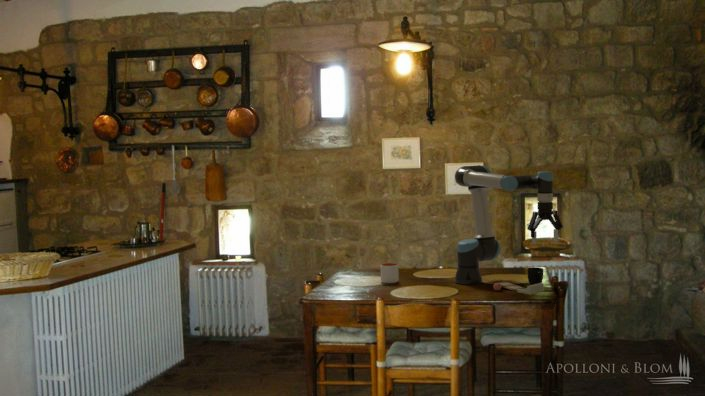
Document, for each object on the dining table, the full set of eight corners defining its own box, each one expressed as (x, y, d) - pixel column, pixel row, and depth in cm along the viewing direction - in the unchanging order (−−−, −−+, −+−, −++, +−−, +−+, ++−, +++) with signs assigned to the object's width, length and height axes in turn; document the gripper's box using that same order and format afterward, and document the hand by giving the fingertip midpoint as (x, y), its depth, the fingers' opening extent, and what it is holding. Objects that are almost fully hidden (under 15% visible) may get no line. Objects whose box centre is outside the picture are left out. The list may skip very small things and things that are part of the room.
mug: (532, 289, 350) (531, 271, 350) (525, 285, 362) (525, 267, 362) (547, 289, 351) (547, 270, 350) (540, 284, 363) (540, 267, 362)
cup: (385, 284, 375) (384, 266, 374) (377, 281, 384) (377, 264, 384) (401, 282, 379) (401, 265, 378) (393, 279, 388) (393, 262, 387)
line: (519, 291, 346) (519, 290, 346) (527, 289, 350) (527, 288, 350) (520, 291, 345) (520, 290, 345) (528, 289, 350) (528, 288, 350)
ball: (491, 290, 350) (491, 283, 350) (496, 289, 353) (496, 282, 352) (498, 291, 347) (497, 284, 347) (502, 290, 350) (502, 283, 349)
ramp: (496, 288, 357) (496, 283, 357) (504, 286, 362) (504, 281, 361) (519, 291, 346) (519, 286, 346) (527, 289, 350) (527, 284, 350)
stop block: (517, 292, 344) (517, 284, 344) (530, 289, 351) (530, 281, 351) (530, 294, 338) (530, 286, 338) (543, 291, 345) (543, 283, 345)
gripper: (529, 203, 336) (529, 245, 337) (569, 200, 345) (569, 242, 347) (520, 202, 343) (520, 243, 344) (560, 199, 352) (560, 240, 354)
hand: (545, 243), depth 345 cm, fingers open, 13 cm apart
